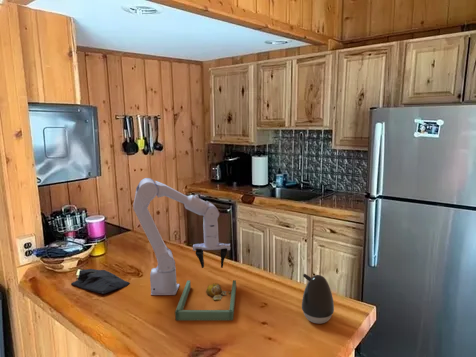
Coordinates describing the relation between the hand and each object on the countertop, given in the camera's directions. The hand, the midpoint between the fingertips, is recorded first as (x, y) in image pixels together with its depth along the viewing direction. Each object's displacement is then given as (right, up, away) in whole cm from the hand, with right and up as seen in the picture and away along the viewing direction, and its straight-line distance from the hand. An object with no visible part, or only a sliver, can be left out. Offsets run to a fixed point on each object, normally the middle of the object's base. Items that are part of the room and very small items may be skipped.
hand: (212, 266), depth 140 cm
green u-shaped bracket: (0, -9, -13) cm, 16 cm away
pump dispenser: (+36, -11, -25) cm, 45 cm away
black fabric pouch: (-46, -8, +3) cm, 46 cm away
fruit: (+2, -9, -8) cm, 13 cm away
